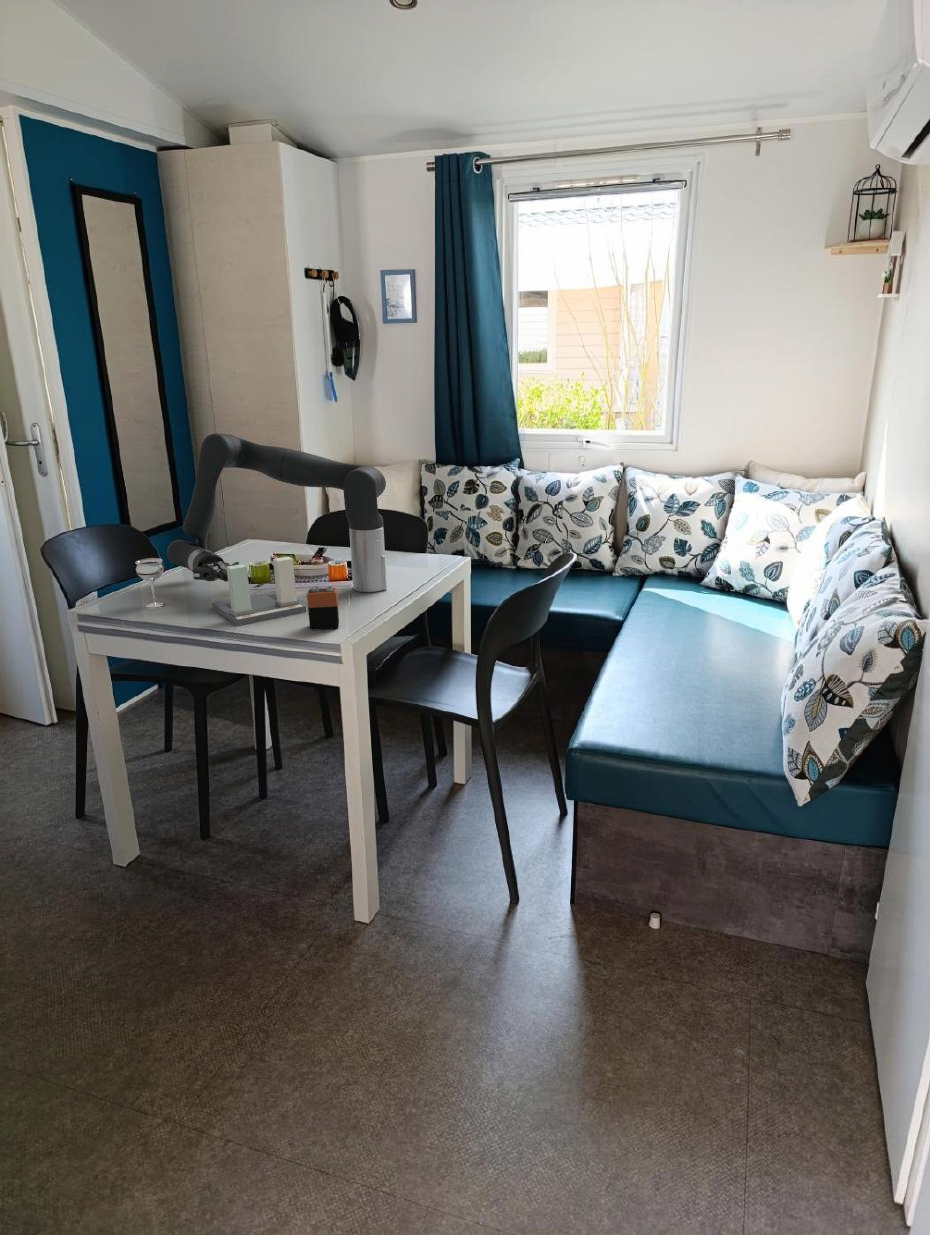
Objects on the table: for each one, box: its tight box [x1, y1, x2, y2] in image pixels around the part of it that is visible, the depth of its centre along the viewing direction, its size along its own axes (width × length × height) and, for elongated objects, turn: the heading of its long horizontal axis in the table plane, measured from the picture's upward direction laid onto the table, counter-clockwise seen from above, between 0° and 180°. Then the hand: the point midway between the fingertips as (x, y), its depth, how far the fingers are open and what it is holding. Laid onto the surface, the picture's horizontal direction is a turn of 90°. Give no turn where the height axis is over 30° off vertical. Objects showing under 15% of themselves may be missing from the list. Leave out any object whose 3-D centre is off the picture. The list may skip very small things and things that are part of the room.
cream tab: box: [272, 556, 300, 607], centre depth 207 cm, size 4×5×12 cm
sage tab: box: [227, 563, 254, 617], centre depth 201 cm, size 4×5×12 cm
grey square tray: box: [211, 590, 307, 627], centre depth 210 cm, size 18×18×2 cm
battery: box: [306, 585, 340, 630], centre depth 195 cm, size 4×7×10 cm, turn 97°
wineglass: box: [135, 557, 165, 608], centre depth 214 cm, size 7×7×12 cm
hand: (228, 577), depth 207 cm, fingers closed
